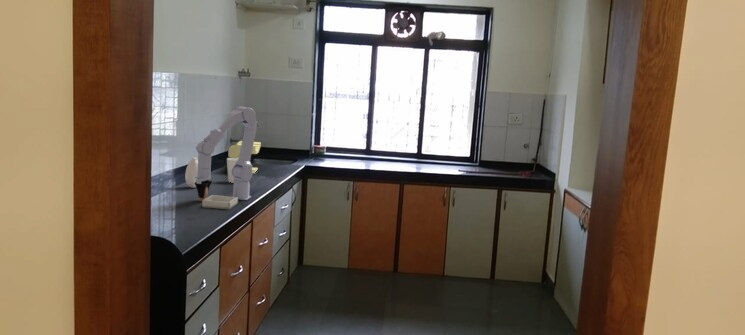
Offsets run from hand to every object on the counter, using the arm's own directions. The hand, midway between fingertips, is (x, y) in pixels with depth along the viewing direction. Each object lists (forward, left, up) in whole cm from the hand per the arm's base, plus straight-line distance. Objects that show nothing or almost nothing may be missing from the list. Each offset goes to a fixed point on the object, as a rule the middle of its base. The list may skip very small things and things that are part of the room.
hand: (202, 196), depth 262 cm
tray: (+6, +10, -2) cm, 12 cm away
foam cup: (-59, -1, -2) cm, 59 cm away
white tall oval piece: (-31, -15, -2) cm, 35 cm away
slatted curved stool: (-105, -7, -2) cm, 105 cm away
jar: (0, 0, -2) cm, 2 cm away
